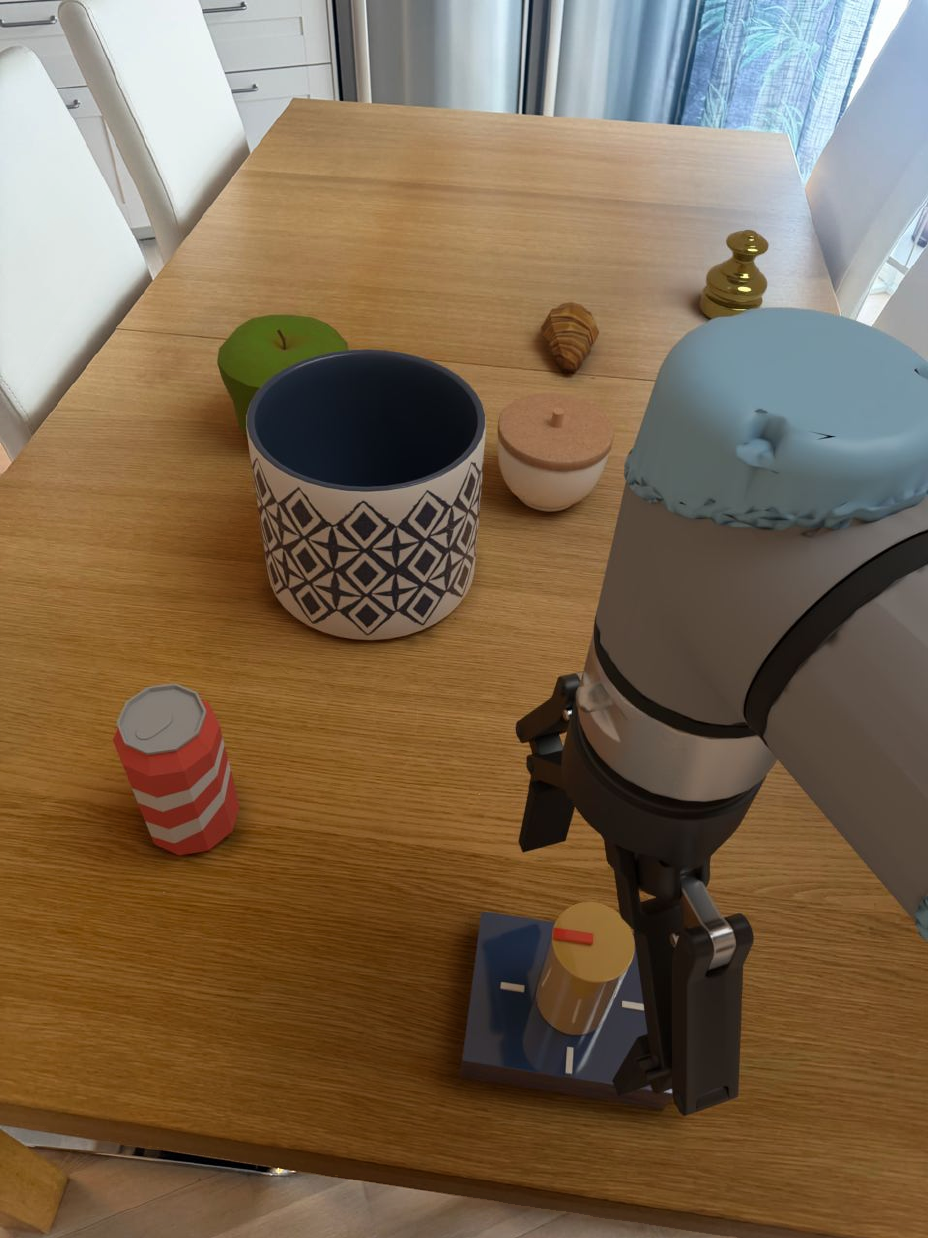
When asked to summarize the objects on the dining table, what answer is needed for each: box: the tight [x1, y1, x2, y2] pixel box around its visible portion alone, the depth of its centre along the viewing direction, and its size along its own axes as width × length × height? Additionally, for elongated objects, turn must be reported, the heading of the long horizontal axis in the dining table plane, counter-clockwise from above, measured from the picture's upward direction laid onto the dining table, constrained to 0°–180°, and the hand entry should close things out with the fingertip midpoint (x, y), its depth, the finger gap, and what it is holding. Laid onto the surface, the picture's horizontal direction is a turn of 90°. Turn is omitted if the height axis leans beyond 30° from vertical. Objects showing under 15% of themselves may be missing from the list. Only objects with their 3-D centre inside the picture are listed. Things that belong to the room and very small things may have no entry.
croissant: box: [540, 301, 600, 375], centre depth 107 cm, size 14×7×5 cm, turn 175°
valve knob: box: [536, 901, 635, 1035], centre depth 52 cm, size 4×4×8 cm
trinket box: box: [496, 392, 615, 513], centre depth 87 cm, size 11×11×9 cm
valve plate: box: [459, 910, 673, 1111], centre depth 56 cm, size 12×9×3 cm
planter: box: [246, 348, 487, 641], centre depth 76 cm, size 18×18×16 cm
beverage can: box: [112, 682, 241, 856], centre depth 60 cm, size 6×6×12 cm
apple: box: [216, 314, 350, 437], centre depth 91 cm, size 12×12×11 cm
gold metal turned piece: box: [699, 229, 770, 320], centre depth 112 cm, size 7×7×10 cm
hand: (586, 951), depth 50 cm, fingers open, 13 cm apart
